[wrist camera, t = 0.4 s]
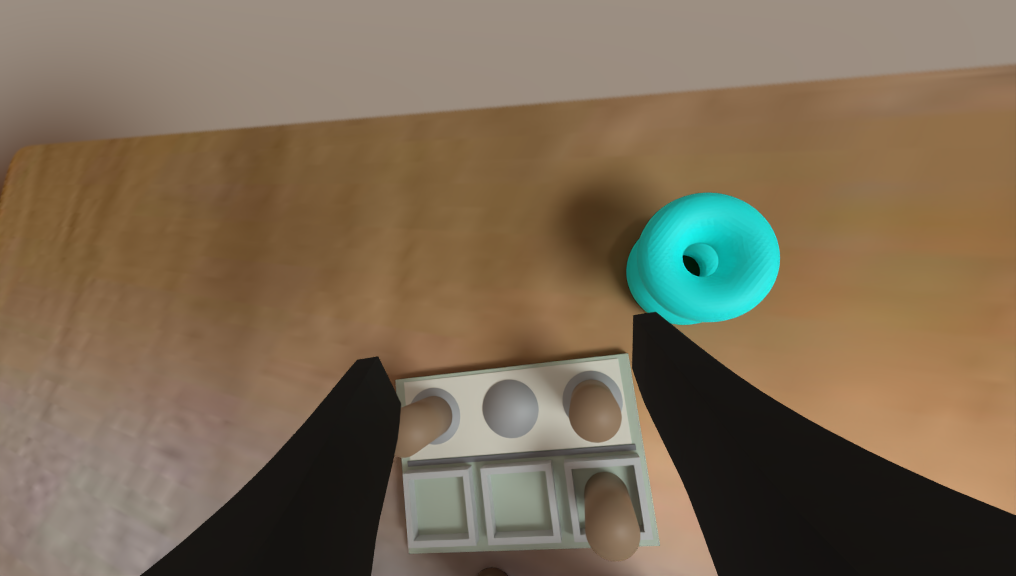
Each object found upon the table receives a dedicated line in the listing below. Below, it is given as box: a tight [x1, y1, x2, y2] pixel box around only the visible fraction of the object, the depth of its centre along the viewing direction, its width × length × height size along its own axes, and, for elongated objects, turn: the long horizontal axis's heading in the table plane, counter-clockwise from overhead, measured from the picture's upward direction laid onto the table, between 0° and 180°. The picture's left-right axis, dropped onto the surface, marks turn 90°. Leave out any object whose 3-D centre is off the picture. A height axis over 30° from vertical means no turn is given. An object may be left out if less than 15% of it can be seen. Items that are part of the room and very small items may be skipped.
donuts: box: [626, 193, 780, 325], centre depth 33 cm, size 10×10×10 cm
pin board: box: [394, 353, 660, 561], centre depth 34 cm, size 17×24×8 cm
